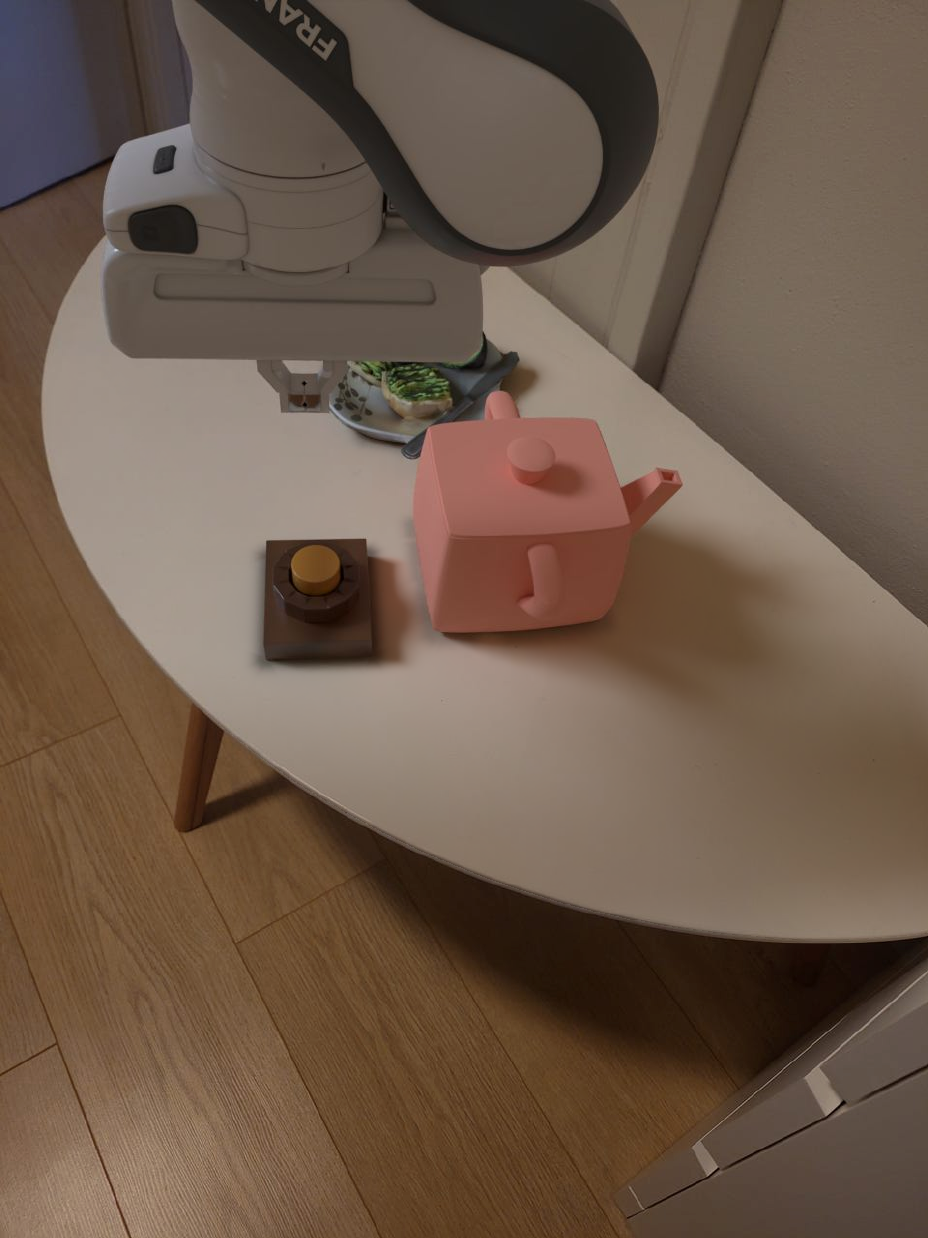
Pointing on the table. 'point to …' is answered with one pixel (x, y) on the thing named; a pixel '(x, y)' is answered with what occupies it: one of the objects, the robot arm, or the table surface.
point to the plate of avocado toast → (418, 395)
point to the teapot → (524, 520)
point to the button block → (317, 605)
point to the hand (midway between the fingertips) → (305, 406)
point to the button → (315, 570)
